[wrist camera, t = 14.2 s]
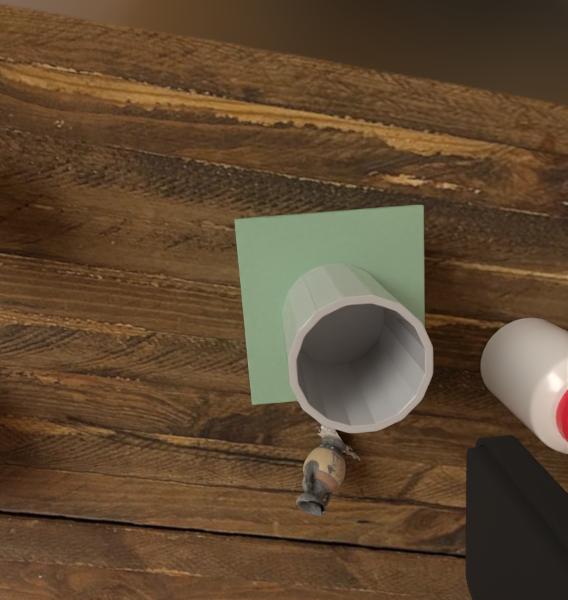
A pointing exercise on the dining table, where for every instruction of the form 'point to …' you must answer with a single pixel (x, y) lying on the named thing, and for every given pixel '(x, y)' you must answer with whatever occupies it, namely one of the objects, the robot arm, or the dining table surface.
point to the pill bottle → (531, 376)
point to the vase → (323, 472)
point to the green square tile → (308, 255)
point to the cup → (353, 350)
